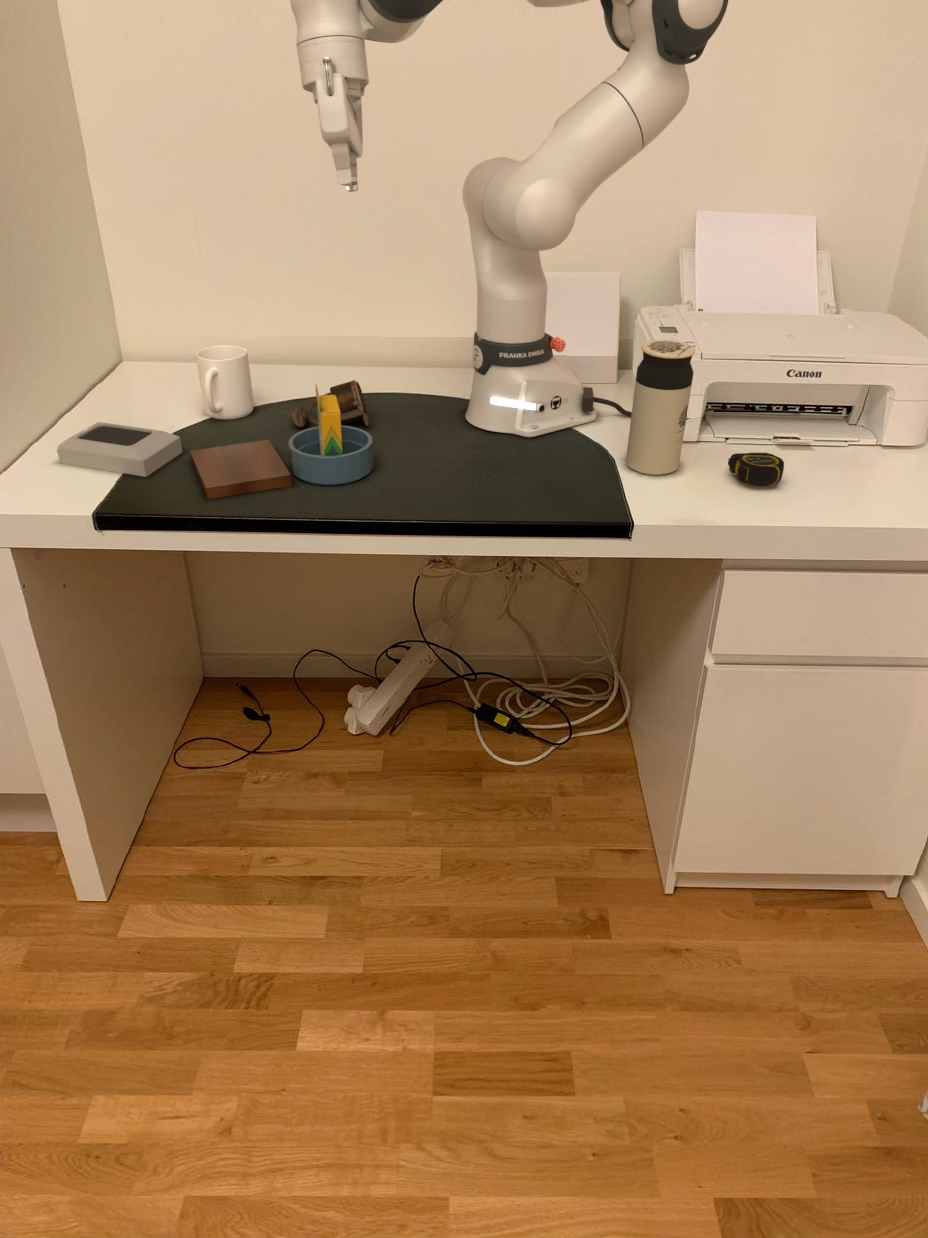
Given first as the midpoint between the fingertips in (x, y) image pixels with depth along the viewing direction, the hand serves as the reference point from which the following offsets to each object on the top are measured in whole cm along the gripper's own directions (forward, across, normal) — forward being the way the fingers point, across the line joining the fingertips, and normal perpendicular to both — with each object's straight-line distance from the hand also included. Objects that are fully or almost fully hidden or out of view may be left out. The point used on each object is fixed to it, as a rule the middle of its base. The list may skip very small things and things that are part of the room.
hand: (349, 187), depth 119 cm
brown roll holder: (+34, +16, +9) cm, 38 cm away
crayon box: (+37, -2, +8) cm, 38 cm away
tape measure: (+45, -6, -54) cm, 71 cm away
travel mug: (+42, -1, -41) cm, 59 cm away
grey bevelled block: (+34, +2, +40) cm, 52 cm away
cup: (+31, +19, +27) cm, 45 cm away
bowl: (+38, -2, +8) cm, 38 cm away
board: (+37, -4, +21) cm, 42 cm away
